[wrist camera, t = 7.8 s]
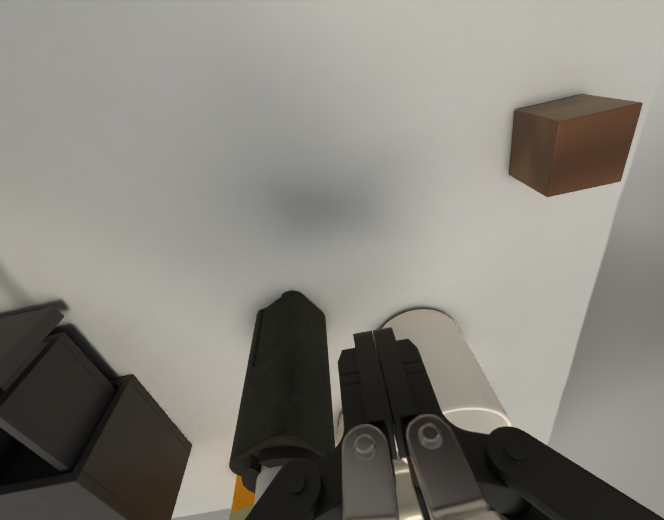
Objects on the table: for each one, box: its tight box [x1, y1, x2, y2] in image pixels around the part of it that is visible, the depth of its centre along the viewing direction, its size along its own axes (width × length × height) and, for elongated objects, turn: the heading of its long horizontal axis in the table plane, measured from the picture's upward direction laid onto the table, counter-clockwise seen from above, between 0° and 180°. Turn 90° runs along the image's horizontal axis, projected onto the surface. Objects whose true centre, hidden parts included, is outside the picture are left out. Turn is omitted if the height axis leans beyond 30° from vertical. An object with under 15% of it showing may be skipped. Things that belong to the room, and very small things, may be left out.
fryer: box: [0, 375, 192, 520], centre depth 32 cm, size 14×12×10 cm
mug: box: [382, 309, 512, 464], centre depth 29 cm, size 12×8×10 cm
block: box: [509, 94, 642, 197], centre depth 21 cm, size 4×4×4 cm
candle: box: [229, 291, 335, 505], centre depth 19 cm, size 5×5×25 cm
